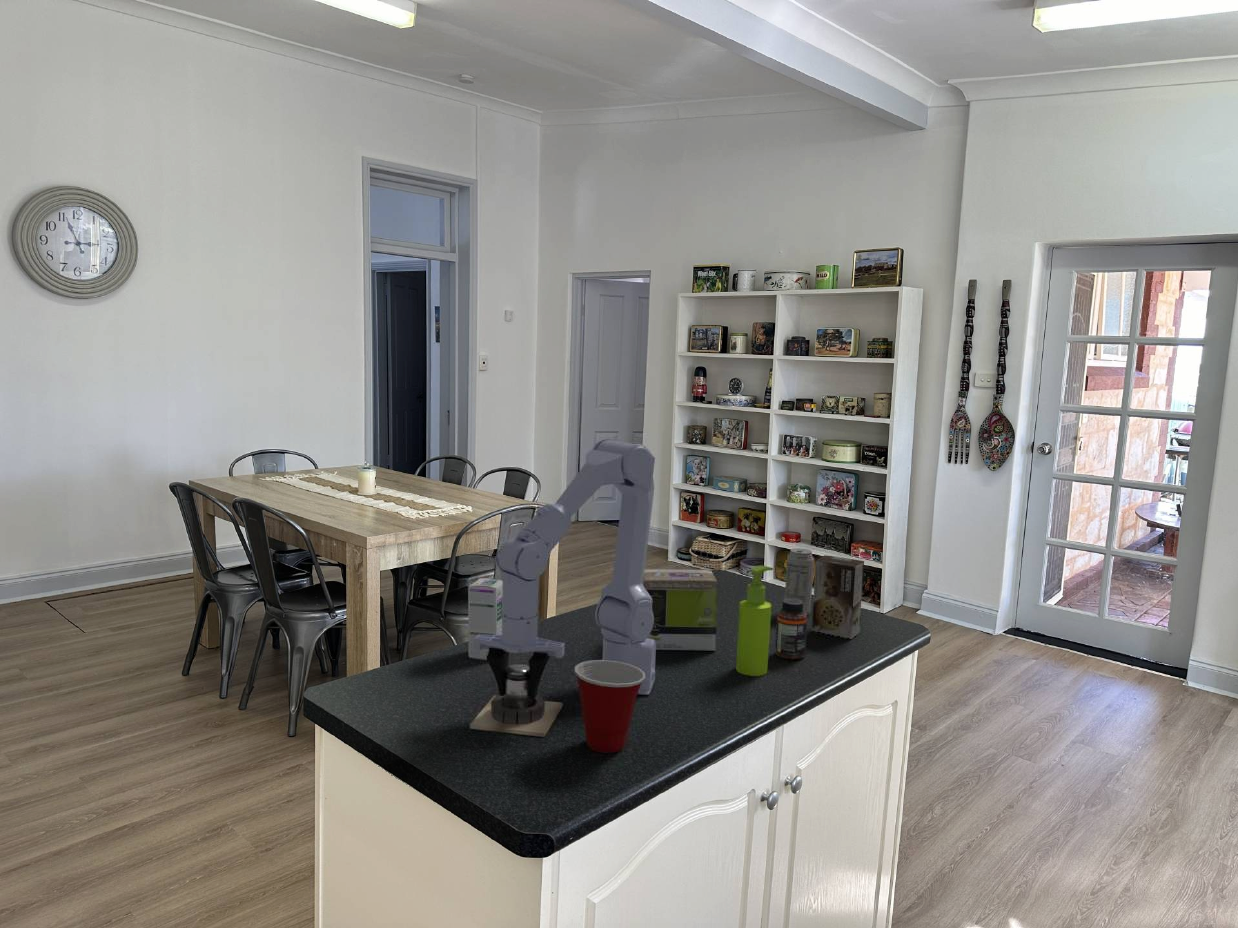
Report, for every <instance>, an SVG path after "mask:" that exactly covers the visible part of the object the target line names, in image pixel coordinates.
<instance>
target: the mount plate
mask: <svg viewBox="0 0 1238 928" xmlns="http://www.w3.org/2000/svg"><path fill="white" fill-rule="evenodd" d="M504 703H505V695H504V696H500V695H499V694H498V695H492V698H491V699H490V700H489V701H488V702H487V703H486V705H485V706H484V707H483V709H481V711H480V712H479V713H478V714H477V715H476V717H475V718H474V719H473V720H472V721H471V723H470V724H469V729H472V730H481V731H488V732H489V731H490V732H498V733H506V734H514V735H515V734H516V735H523V736H524V735H525V736H533V737H542V738H545V736H546V735H547V733H548V731H549V729H550V727H551V726H552V724H553V722H554V721H555V720H556V718H557V716H558V715H559V713H560V711H561V710H562V708H563V702H559V701H558V702H557V701H546V700H544V698H543V696H541V695H539V694H537V695H536V697H535V698H534V699H532V706H531V707H530V708H528V709H519V710H516V709H508V708H506V707H505V705H504Z"/></svg>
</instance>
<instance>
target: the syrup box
mask: <svg viewBox="0 0 1238 928" xmlns="http://www.w3.org/2000/svg"><path fill="white" fill-rule="evenodd" d="M502 585H503V581H502V580H501V578H500V579H497V578H490V577H487V578H486V577H484V578H481V577H480V578H478V579H477V580H476V581H474V582H473V583H471V584H470V585H468V588H467V589H468V590H467V593H468V595H467V597H468V603H467V604H468V605H467V607H468V614H467V615H468V617H467V618H468V619H467V621H468V627H467V628H468V631H467V632H468V645H467V646H468V657H469V658H470V659H476V660H482V661H483V660H484V661H487V658H486V656H487V655H488V652H489V649H481V650H474V638H475V637H476V636H477V635H502Z"/></svg>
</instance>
